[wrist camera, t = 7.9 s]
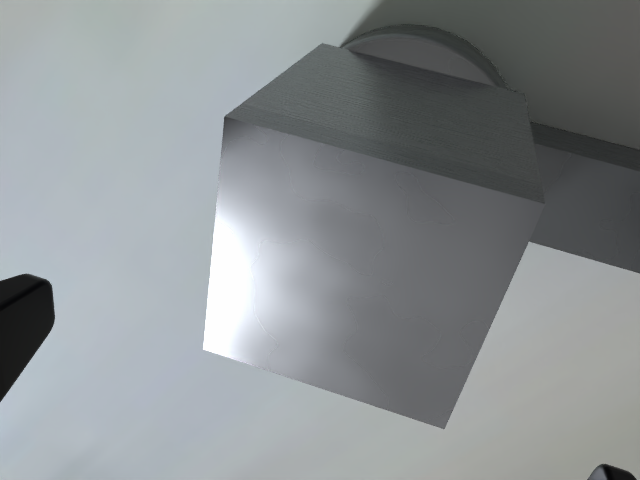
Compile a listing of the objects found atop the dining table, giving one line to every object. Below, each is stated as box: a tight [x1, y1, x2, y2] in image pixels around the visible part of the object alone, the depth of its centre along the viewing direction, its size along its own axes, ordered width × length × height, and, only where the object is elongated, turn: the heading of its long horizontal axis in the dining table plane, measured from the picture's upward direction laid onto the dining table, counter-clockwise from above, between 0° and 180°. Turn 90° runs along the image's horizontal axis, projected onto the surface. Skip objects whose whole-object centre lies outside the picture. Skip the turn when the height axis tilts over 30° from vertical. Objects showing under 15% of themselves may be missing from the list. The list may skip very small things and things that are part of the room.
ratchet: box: [342, 25, 640, 273], centre depth 15 cm, size 20×7×6 cm, turn 79°
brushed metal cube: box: [203, 43, 545, 429], centre depth 14 cm, size 6×6×7 cm
